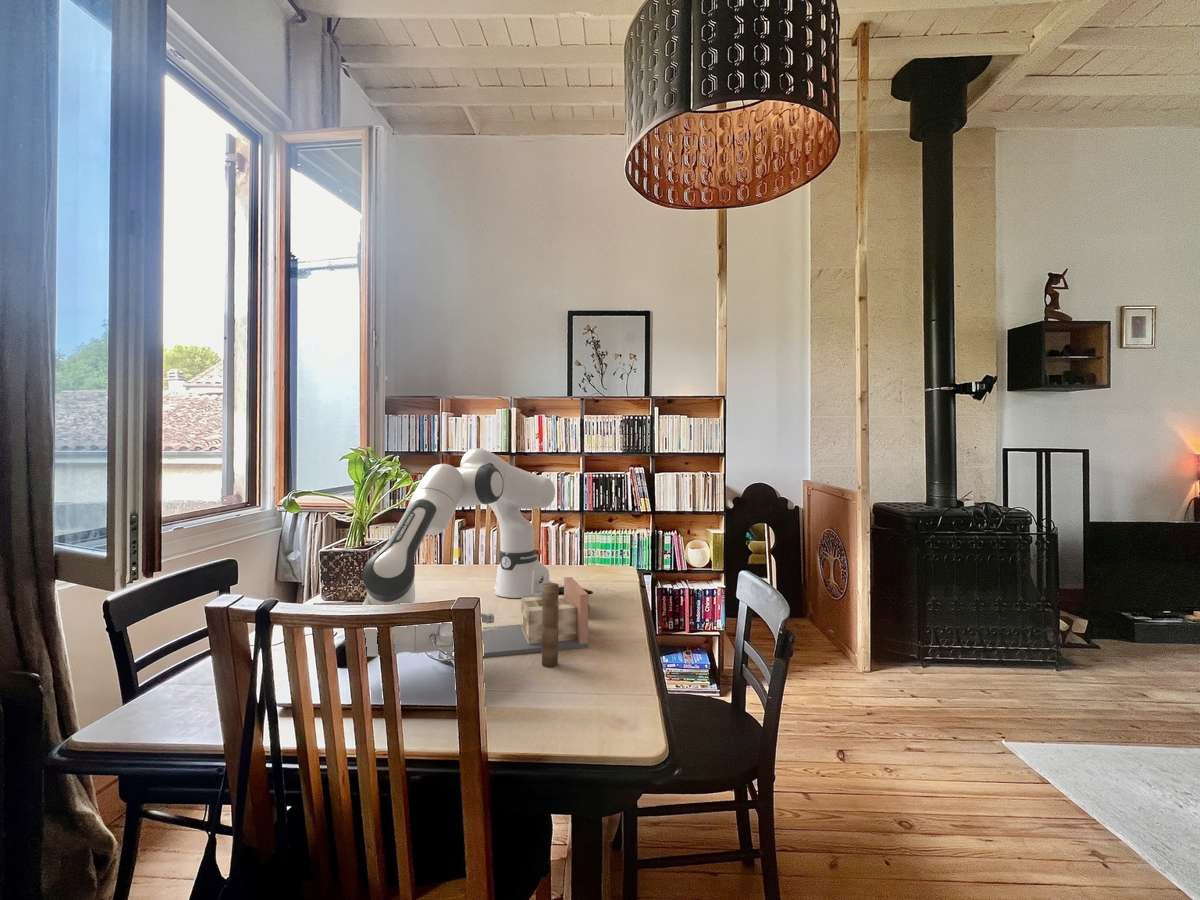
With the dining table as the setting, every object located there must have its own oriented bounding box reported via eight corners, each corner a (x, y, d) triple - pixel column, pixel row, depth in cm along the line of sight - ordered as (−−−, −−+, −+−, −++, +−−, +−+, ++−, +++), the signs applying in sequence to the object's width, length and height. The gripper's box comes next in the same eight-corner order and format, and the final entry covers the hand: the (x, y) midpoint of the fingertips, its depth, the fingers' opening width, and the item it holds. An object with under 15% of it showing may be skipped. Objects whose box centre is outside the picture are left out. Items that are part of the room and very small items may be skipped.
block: (528, 643, 138) (528, 611, 137) (521, 628, 149) (521, 597, 149) (576, 639, 141) (576, 607, 141) (565, 624, 153) (566, 594, 152)
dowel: (547, 660, 130) (548, 582, 130) (560, 663, 129) (561, 584, 128) (538, 665, 127) (539, 585, 127) (552, 668, 126) (552, 587, 125)
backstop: (475, 658, 131) (475, 602, 131) (470, 632, 148) (470, 582, 148) (587, 647, 139) (588, 594, 138) (570, 624, 156) (571, 577, 156)
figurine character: (549, 612, 172) (575, 619, 159) (548, 586, 172) (574, 592, 160) (568, 608, 175) (595, 615, 163) (567, 583, 176) (594, 588, 163)
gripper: (430, 631, 111) (501, 625, 114) (430, 602, 130) (491, 598, 134) (429, 663, 111) (501, 656, 115) (430, 629, 130) (491, 624, 134)
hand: (496, 624), depth 124 cm, fingers open, 8 cm apart
